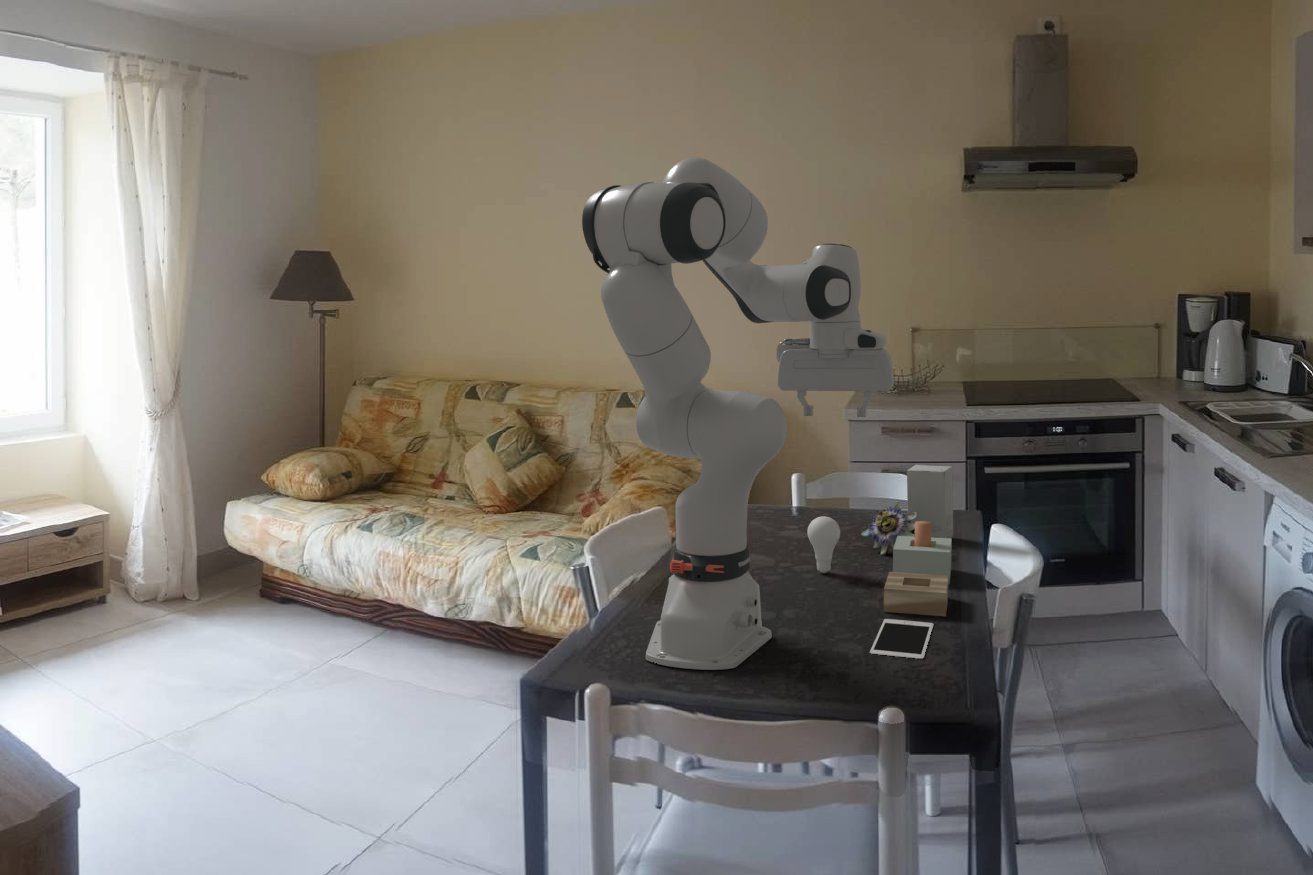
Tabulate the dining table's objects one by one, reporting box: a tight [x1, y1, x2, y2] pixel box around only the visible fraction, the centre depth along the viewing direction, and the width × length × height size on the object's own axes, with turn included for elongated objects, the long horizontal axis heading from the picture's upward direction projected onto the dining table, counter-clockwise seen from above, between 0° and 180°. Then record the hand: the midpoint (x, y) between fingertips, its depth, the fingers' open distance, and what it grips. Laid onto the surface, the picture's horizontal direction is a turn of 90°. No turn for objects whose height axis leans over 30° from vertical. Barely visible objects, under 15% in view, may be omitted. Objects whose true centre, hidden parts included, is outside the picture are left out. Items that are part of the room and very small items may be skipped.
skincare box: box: [906, 464, 954, 539], centre depth 210 cm, size 8×7×16 cm
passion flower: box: [860, 501, 917, 556], centre depth 202 cm, size 11×11×12 cm
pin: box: [915, 521, 932, 547], centre depth 185 cm, size 3×3×10 cm
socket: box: [892, 536, 952, 585], centre depth 185 cm, size 10×10×6 cm
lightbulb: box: [806, 515, 841, 574], centre depth 188 cm, size 6×6×11 cm
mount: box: [883, 571, 949, 617], centre depth 168 cm, size 10×10×4 cm
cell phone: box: [869, 618, 934, 660], centre depth 153 cm, size 8×16×1 cm, turn 159°
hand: (834, 416), depth 176 cm, fingers open, 8 cm apart
